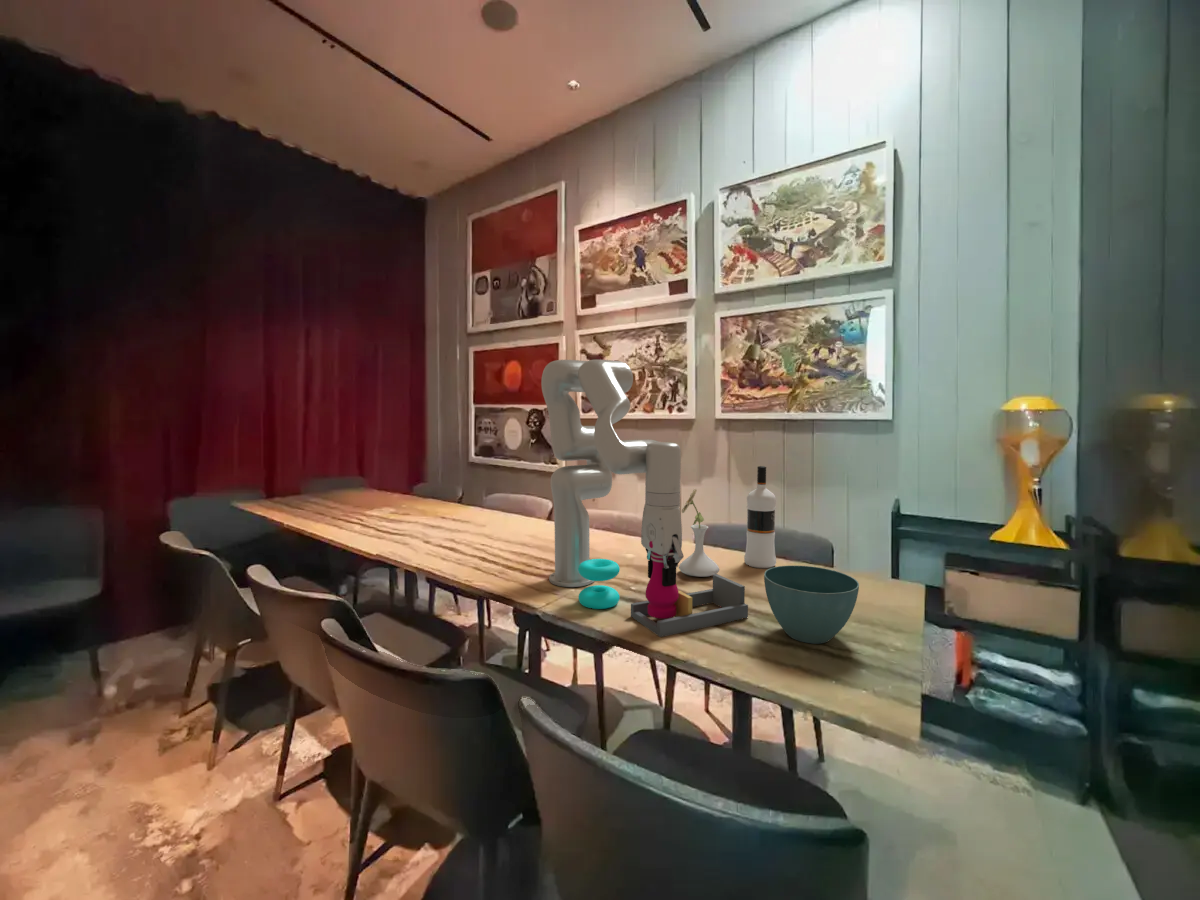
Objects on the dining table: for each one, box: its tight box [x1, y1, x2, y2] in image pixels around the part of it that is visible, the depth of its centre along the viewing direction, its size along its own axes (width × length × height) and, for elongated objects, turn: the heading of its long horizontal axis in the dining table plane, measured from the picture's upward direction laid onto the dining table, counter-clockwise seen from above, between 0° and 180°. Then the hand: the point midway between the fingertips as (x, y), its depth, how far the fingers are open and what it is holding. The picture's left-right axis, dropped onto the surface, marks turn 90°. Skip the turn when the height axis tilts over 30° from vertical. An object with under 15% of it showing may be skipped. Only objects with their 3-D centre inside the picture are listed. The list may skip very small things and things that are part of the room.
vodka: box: [743, 465, 777, 569], centre depth 162 cm, size 9×9×30 cm
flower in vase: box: [678, 488, 720, 578], centre depth 152 cm, size 13×11×25 cm
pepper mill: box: [645, 541, 679, 620], centre depth 118 cm, size 7×7×20 cm
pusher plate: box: [673, 589, 693, 618], centre depth 120 cm, size 9×1×6 cm, turn 26°
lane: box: [630, 573, 749, 638], centre depth 122 cm, size 12×23×7 cm, turn 116°
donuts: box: [577, 558, 621, 610], centre depth 131 cm, size 10×10×10 cm
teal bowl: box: [763, 565, 860, 645], centre depth 112 cm, size 18×18×12 cm
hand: (661, 580), depth 118 cm, fingers closed on pepper mill, 5 cm apart
